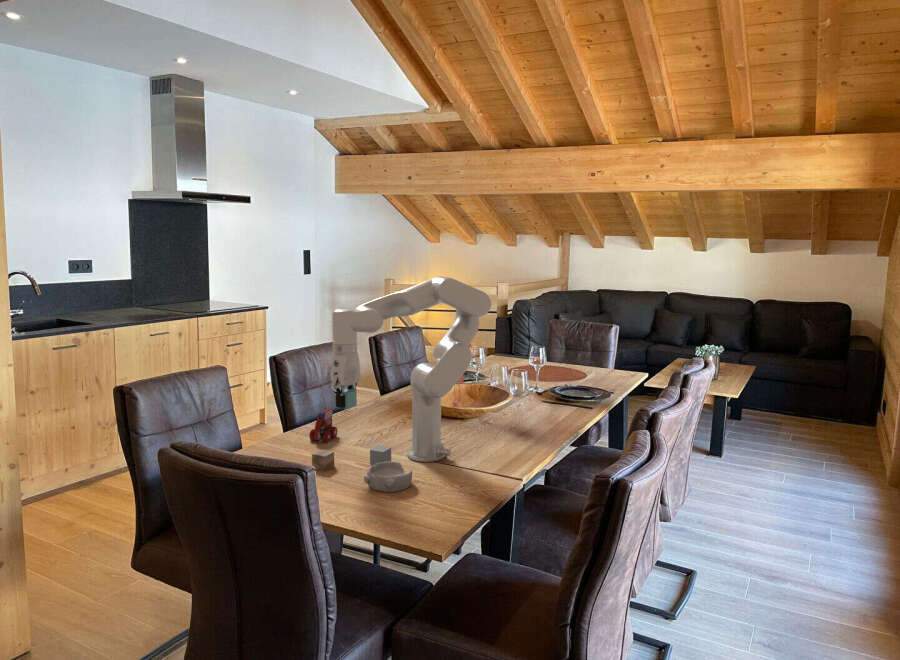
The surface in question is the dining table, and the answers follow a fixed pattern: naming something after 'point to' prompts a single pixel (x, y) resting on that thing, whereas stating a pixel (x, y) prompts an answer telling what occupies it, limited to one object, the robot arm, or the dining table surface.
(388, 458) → the slate grey block
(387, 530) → the dining table surface
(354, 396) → the teal block
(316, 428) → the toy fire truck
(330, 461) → the walnut block
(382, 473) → the dish
